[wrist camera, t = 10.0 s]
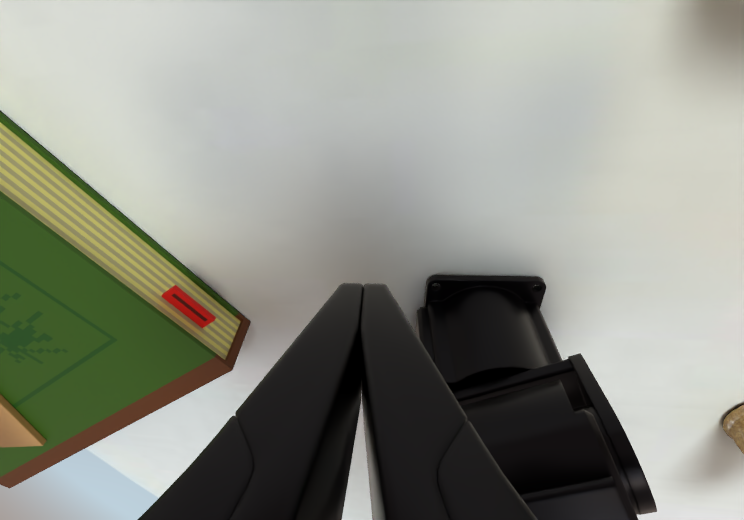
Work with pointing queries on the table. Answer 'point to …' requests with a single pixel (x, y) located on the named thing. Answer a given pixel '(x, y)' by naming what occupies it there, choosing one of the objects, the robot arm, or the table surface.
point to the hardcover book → (92, 312)
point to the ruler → (16, 428)
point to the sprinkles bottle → (735, 426)
